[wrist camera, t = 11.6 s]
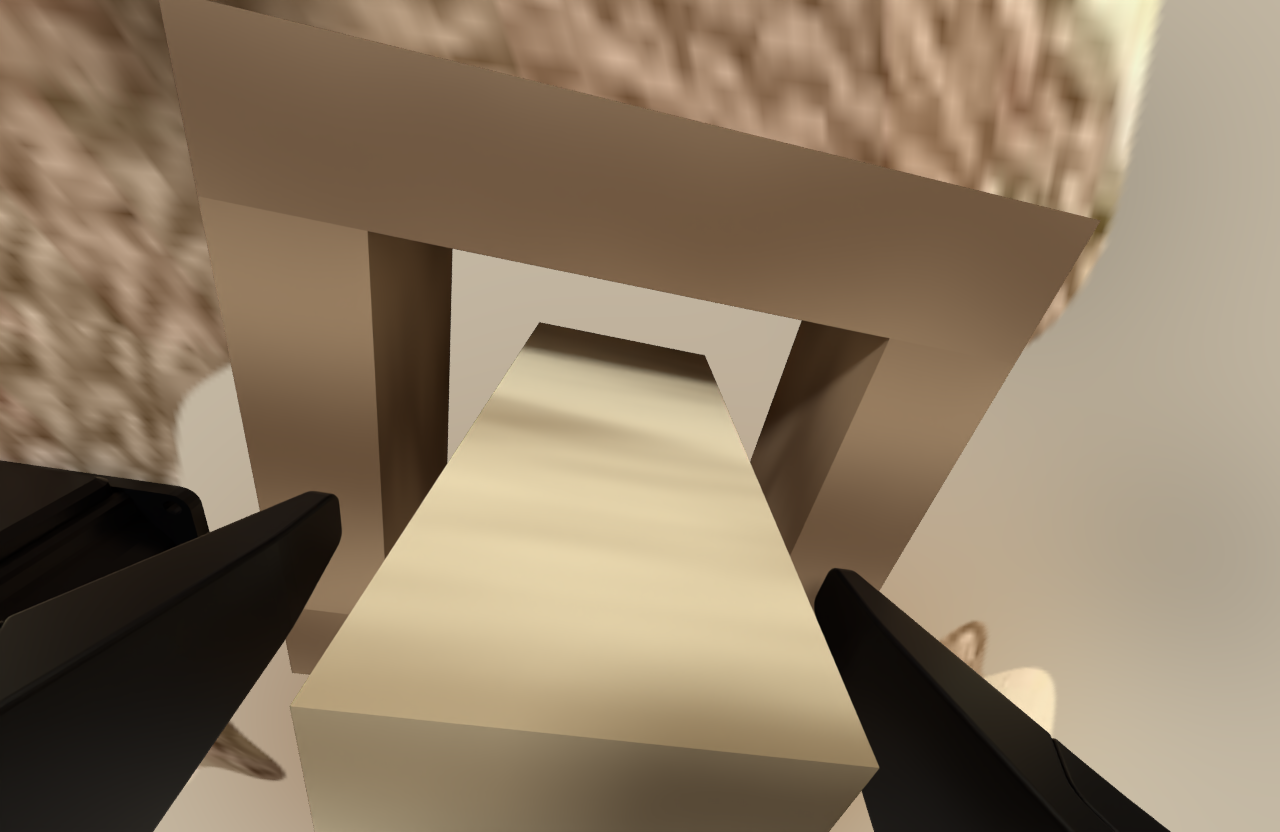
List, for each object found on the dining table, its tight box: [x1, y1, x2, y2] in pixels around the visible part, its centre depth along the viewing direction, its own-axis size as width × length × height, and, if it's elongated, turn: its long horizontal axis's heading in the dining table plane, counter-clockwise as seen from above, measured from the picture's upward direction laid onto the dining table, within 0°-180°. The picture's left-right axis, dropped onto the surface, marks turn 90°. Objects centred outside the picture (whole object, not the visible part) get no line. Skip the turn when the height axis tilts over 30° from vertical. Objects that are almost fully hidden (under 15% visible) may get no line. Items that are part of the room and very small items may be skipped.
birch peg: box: [290, 323, 879, 832], centre depth 9 cm, size 4×4×10 cm
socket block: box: [159, 0, 1100, 675], centre depth 12 cm, size 14×14×4 cm
